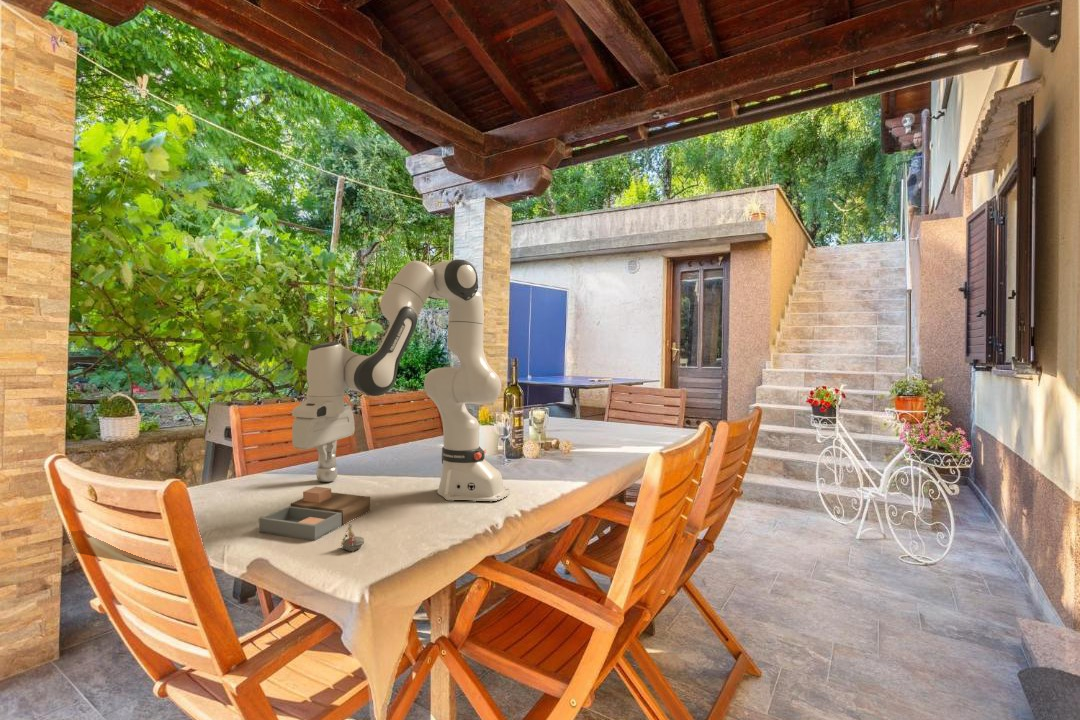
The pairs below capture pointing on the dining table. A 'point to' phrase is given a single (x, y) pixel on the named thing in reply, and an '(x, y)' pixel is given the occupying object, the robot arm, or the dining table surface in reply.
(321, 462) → the plastic bottle
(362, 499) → the brown wooden platform
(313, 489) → the tile
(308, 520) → the tile
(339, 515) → the box
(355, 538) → the figurine
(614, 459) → the dining table surface
